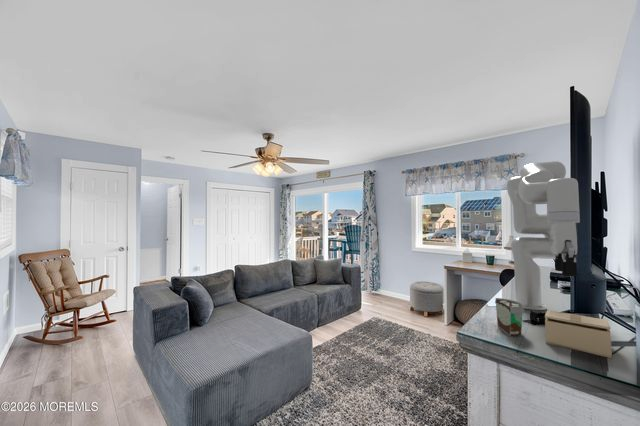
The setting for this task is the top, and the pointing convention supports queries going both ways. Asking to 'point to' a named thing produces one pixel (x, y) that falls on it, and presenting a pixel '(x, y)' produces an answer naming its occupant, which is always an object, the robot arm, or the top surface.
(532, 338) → the top surface
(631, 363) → the top surface
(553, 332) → the carton
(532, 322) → the black box
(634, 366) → the top surface
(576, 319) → the lid
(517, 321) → the food container
